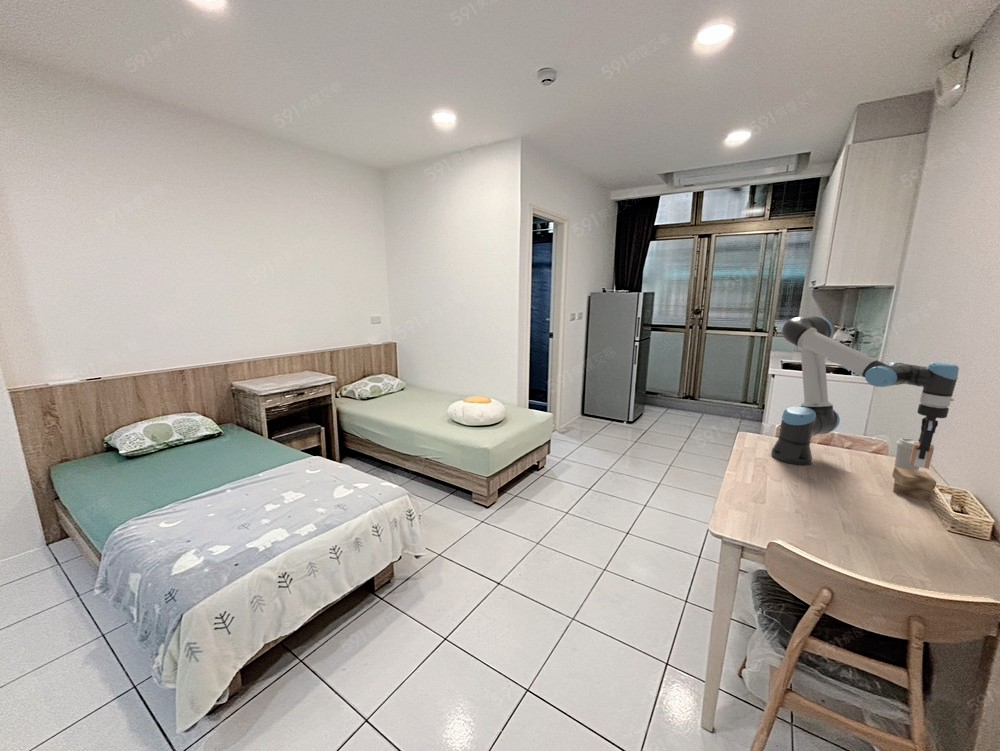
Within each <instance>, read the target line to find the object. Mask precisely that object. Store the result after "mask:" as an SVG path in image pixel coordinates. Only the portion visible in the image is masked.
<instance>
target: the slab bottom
mask: <svg viewBox="0 0 1000 751" xmlns="http://www.w3.org/2000/svg"><path fill="white" fill-rule="evenodd" d="M892 489H893V490H892V491H893V493H896V494H901V495H904V496H908V497H911V498H915V499H919V500H922V501H926V502H930V497H931V494H932V491H928V490H922V489H917V488H911V487H906V486H901V485H900V484H899V483H898V482H897V481H896V480H895V479H894V482H893V488H892Z"/></svg>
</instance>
